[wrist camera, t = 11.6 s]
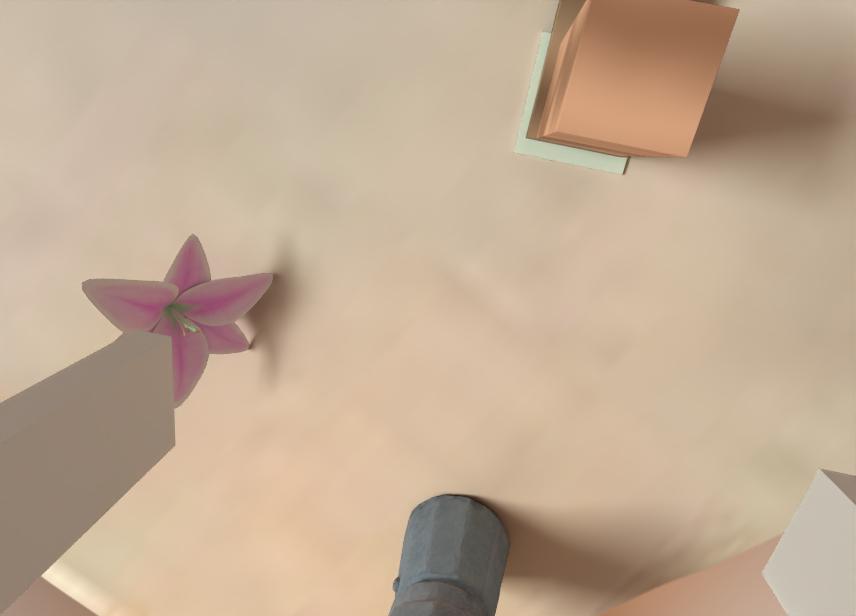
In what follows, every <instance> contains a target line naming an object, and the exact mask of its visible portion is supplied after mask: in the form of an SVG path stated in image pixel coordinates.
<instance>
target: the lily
mask: <svg viewBox="0 0 856 616" xmlns="http://www.w3.org/2000/svg"><path fill="white" fill-rule="evenodd" d="M272 281H273V274H271V273H262V274H254V275H247V276H241V277H233V278H225V279H218V280H212V281H211V274H210V269H209V265H208V262H207V259H206V255H205V253H204V250H203V248H202V245H201V243H200V241H199V239H198V238H197V236H195V235H194V234H192V235H191V236H189V237H188V239H187V240H186V242H185V243H184V245H183V246H182V248H181V250H180V251H179V253H178V255H177V256H176V258H175V260H174V262H173V264H172V265H171V267H170V269H169V271H168V273H167V275H166V277H165V279H164V281H163V282H159V281H139V280H124V279H89V280H87V281H85V282H82V290H83V291H84V293H85V294H86V296H87V297H88V299H89V300H90V301H91V302H92V303H93V304H94V306H95V307H96V308H97V309H98V310H99V311H100V312H101V313H102V314H103V315H104V316H105V317H106V318H107V319H108V320H109V321H110V322H111V323H112V324H114V325H115V326H116V327H117V328H118V329H119V330H121V331H123V332H124V333H123V334H122V335H121V336H119V337H118V338H117V339H116V340H115V341H117V340H119V339H120V338H122V337H124V336H126V335H128V334H130V333H132V332H133V331H135V330H142V331H146V332H151V333H156V334H161V335H166V336H171V337H172V365H173V393H174V408H175V409H176V408H177V407H179V406H180V405H181V404H182V403H183V402H184V401H185V400H186V399H187V398H188V396H189V395H190V393H191V392H192V390H193V389H194V388H195V386H196V384H197V382H198V381H199V379H200V377H201V376H202V374H203V371H204V369H205V367H206V365H207V361H208V357H209V354H230V353H238V352H242V351H246V350H248V348H249V342H248V340H247V339H246V337H245V335H244V334H243V332H242V331H241V330H240V328H239V327H238V326H237V325H236V324H235V323H234V322H235V321H236V320H238V319H239V318H241V317H243V316H244V315H245V314H246V313H247V312H248V311H249V310H250V309H251V308H252V307H253V306H254V305H255V304H256V303H257V302H258V301H259V299H260V298H261V297H262V296H263V295H264V293H265V292H266V291H267V289H268V288H269V287H270V285H271V283H272ZM115 341H114V342H115Z"/></svg>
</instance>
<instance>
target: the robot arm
mask: <svg viewBox="0 0 856 616" xmlns="http://www.w3.org/2000/svg"><path fill="white" fill-rule="evenodd" d="M174 446H175V421H174V393H173V365H172V337H171V336H166V335H161V334H156V333H151V332H146V331H142V330H135V331H133V332H132V333H130V334H128V335H126V336H124V337H122V338H120V339H119V340H117V341H115V342H113V343H111V344H109V345H107V346H106V347H104V348H102V349H100V350H98V351H96V352H94V353H93V354H91V355H89V356H87V357H85V358H83V359H81V360H80V361H78V362H76V363H74V364H72V365H70V366H68V367H67V368H65V369H63V370H61V371H59V372H57V373H55V374H54V375H52V376H50V377H48V378H46V379H44V380H42V381H41V382H39V383H37V384H35V385H33V386H31V387H29V388H28V389H26V390H24V391H22V392H20V393H18V394H16V395H15V396H13V397H11V398H9V399H7V400H5V401H3V402H2V403H0V615H1V614H2V613H3V612H4V611H5V610H6V609H7V608H8V607H9V606H10V605H11V604H12V603H13V602H14V601H15V600H16V599H17V598H18V597H19V596H20V595H22V594H23V592H25V591H26V590H27V589H28V588H29V587H30V586H31V585H32V584H33V583H34V582H35V581H36V580H37V579H38V578H39V577H40V576H41V575H42V574H43V573H44V572H45V571H46V570H47V569H48V568H49V567H50V566H51V565H52V564H54V563H55V562H56V561H57V560H58V559H59V558H60V557H61V556H62V555H63V554H64V553H65V552H66V551H67V550H68V549H69V548H70V547H71V546H72V545H73V544H74V543H75V542H76V541H77V540H78V539H79V538H80V537H81V536H82V535H83V534H84V533H85V532H86V531H88V530H89V529H90V528H91V527H92V526H93V525H94V524H95V523H96V522H97V521H98V520H99V519H100V518H101V517H102V516H103V515H104V514H105V513H106V512H107V511H108V510H109V509H110V508H111V507H112V506H113V505H114V504H115V503H116V502H117V501H118V500H119V499H120V498H122V497H123V496H124V495H125V494H126V493H127V492H128V491H129V490H130V489H131V488H132V487H133V486H134V485H135V484H136V483H137V482H138V481H139V480H140V479H141V478H142V477H143V476H144V475H145V474H146V473H147V472H148V471H149V470H150V469H151V468H152V467H153V466H154V465H156V464H157V463H158V462H159V461H160V460H161V459H162V458H163V457H164V456H165V455H166V454H167V453H168V452H169V451H170V450H171V449H172V448H173V447H174ZM762 575H763V576H764V578H765V580H766V581H767V583H768V584H769V586H770V587H771V589H772V591H773V592H774V594H775V595H776V597H777V599H778V600H779V602H780V604H781V605H782V607H783V608H784V610H785V612H786V613H787V615H788V616H856V476H853V475H848V474H844V473H839V472H834V471H829V470H824V469H819V470H818V472H817V474H816V476H815V477H814V479H813V481H812V483H811V485H810V486H809V488H808V490H807V492H806V494H805V496H804V497H803V499H802V501H801V503H800V505H799V507H798V508H797V510H796V512H795V514H794V516H793V517H792V519H791V521H790V523H789V525H788V527H787V528H786V530H785V532H784V534H783V536H782V537H781V539H780V541H779V543H778V545H777V547H776V548H775V550H774V552H773V554H772V556H771V558H770V559H769V561H768V563H767V565H766V567H765V568H764V570H763V572H762Z"/></svg>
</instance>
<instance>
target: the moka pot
mask: <svg viewBox="0 0 856 616" xmlns="http://www.w3.org/2000/svg"><path fill="white" fill-rule="evenodd" d="M509 547H510V543H509V540H508V536H507V534H506V530H505V528H504V526H503V524H502V523H501V521H500V520H499V518H498V517H497V516H496V515H495V514H494V513H493V512H492V511H491V510H489V509H488V508H486V507H485V506H483V505H482V504H480V503H479V502H476V501H475V500H472V499H470V498H467V497H462V496H450V495H443V496H438V497H433V498H430V499H429V500H427V501H425V502H423V503H422V504H419V505H418V506H417V507H416V508H415V509H414V510H413V511H412V513H411V516H410V519H409V522H408V525H407V529H406V533H405V537H404V542H403V549H402V555H401V561H400V568H399V574H398V577H397V578H396V579H395V580H394V583H393V590H394V591H395V592H396V593H395V600H394V602H393V605H392V607H391V610H390V613H389V616H495V613H496V608H497V604H498V600H499V594H500V587H501V583H502V579H503V575H504V570H505V566H506V562H507V557H508V552H509Z"/></svg>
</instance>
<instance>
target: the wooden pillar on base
mask: <svg viewBox="0 0 856 616" xmlns="http://www.w3.org/2000/svg"><path fill="white" fill-rule="evenodd" d="M739 10H740V9H736V8H730V7H724V6H719V5H713V4H708V3H702V2H697V1H691V0H559V4H558V8H557V12H556V16H555V20H554V25H553V29H552V33H551V37H550V41H549V45H548V49H547V53H546V57H545V61H544V65H543V69H542V73H541V77H540V81H539V85H538V89H537V93H536V97H535V101H534V105H533V110H532V114H531V118H530V122H529V126H528V130H527V134H526V138H527V139H532V140H537V141H542V142H547V143H552V144H557V145H562V146H567V147H572V148H577V149H582V150H587V151H591V152H596V153H601V154H606V155H611V156H616V157H626V158H630V156H646V157H687V155H688V152H689V150H690V147H691V144H692V141H693V139H694V136H695V133H696V130H697V127H698V125H699V122H700V119H701V116H702V113H703V111H704V108H705V105H706V102H707V99H708V97H709V94H710V91H711V88H712V86H713V83H714V80H715V77H716V74H717V72H718V69H719V66H720V63H721V60H722V58H723V55H724V52H725V49H726V46H727V44H728V41H729V38H730V35H731V33H732V30H733V27H734V24H735V21H736V19H737V16H738V13H739Z"/></svg>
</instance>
